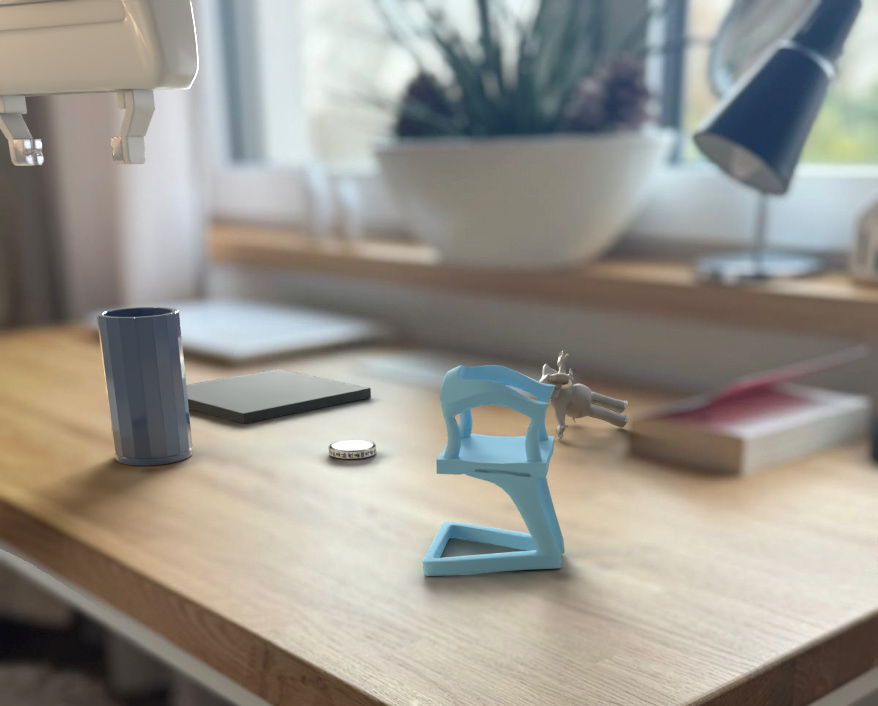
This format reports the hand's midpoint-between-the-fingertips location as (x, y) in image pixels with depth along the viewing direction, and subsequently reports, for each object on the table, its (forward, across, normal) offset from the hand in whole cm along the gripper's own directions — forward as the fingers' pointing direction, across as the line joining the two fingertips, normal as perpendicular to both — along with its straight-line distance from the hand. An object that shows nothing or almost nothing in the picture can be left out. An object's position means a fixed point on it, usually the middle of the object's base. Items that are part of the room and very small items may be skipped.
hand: (78, 165), depth 77 cm
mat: (+23, -7, +30) cm, 38 cm away
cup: (+23, -2, +7) cm, 24 cm away
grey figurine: (+24, +28, +30) cm, 47 cm away
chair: (+24, +34, -4) cm, 42 cm away
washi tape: (+23, +13, +14) cm, 30 cm away
